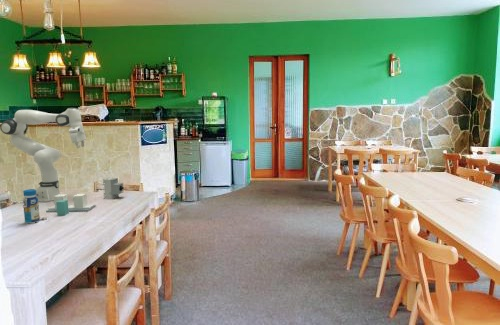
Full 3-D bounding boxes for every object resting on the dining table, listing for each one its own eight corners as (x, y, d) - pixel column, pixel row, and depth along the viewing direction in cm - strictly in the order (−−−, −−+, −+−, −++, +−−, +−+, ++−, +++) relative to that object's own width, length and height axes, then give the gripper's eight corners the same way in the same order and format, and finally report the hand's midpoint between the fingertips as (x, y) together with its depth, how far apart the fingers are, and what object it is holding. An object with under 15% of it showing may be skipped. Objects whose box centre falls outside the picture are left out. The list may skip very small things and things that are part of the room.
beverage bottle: (25, 221, 246) (22, 189, 243) (40, 219, 249) (38, 188, 247) (23, 224, 238) (20, 192, 236) (39, 222, 242) (36, 190, 239)
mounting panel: (46, 212, 267) (44, 197, 265) (55, 207, 281) (54, 193, 279) (88, 211, 267) (86, 196, 266) (95, 206, 281) (94, 192, 280)
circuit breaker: (120, 199, 303) (119, 179, 301) (104, 198, 306) (102, 179, 304) (125, 197, 310) (124, 178, 308) (109, 196, 313) (108, 177, 311)
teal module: (57, 215, 258) (56, 202, 257) (61, 213, 264) (60, 200, 263) (65, 215, 258) (63, 201, 257) (68, 213, 264) (67, 199, 263)
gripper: (78, 128, 308) (81, 146, 310) (67, 130, 287) (71, 149, 290) (86, 127, 308) (89, 145, 310) (76, 129, 288) (80, 148, 290)
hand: (80, 147), depth 300 cm, fingers open, 8 cm apart
